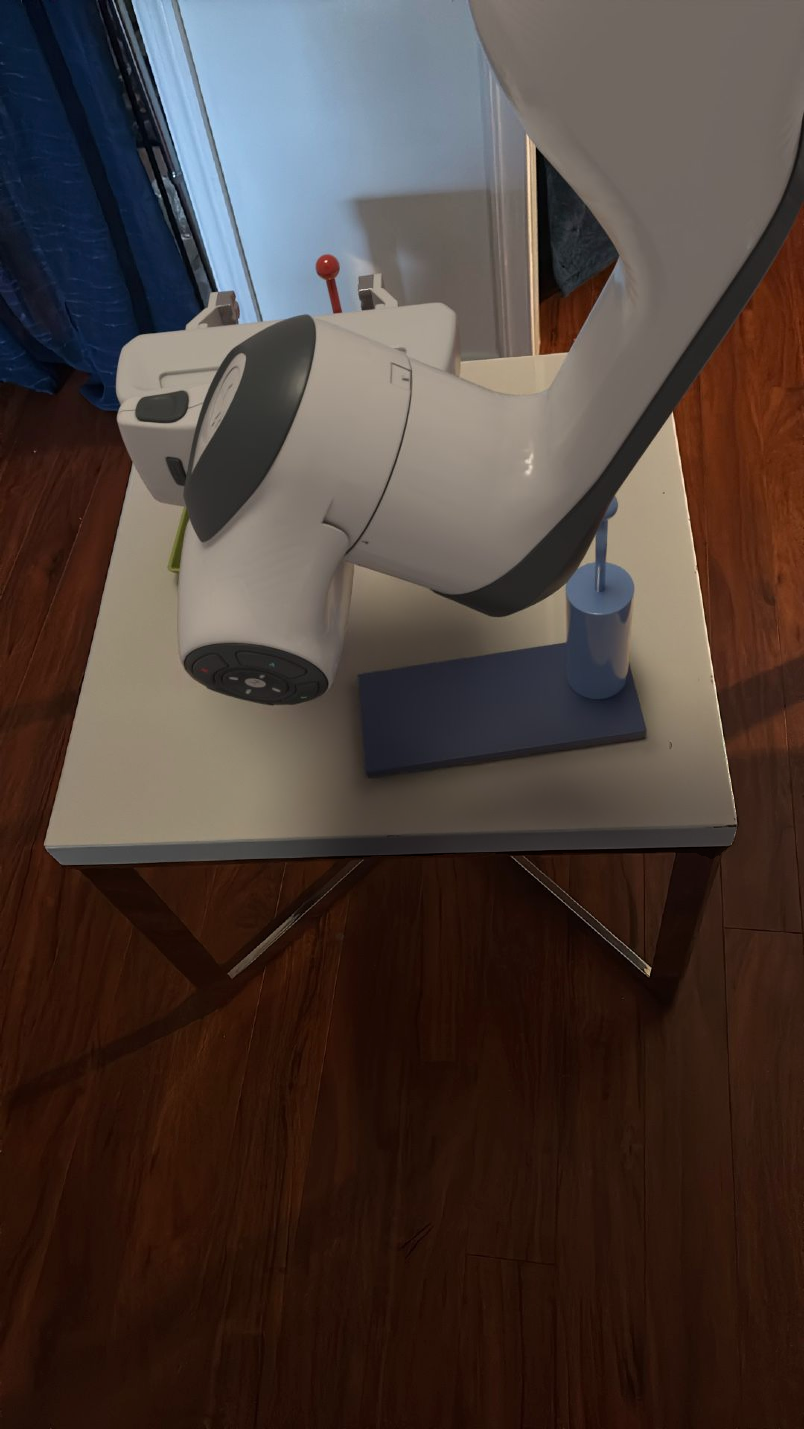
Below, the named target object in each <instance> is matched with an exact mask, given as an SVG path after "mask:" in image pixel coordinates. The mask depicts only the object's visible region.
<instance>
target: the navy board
mask: <svg viewBox="0 0 804 1429" xmlns="http://www.w3.org/2000/svg"><path fill="white" fill-rule="evenodd" d="M357 683H358V696H359V708H360V709H359V711H360V722H361V723H360V724H361V734H362V748H363V759H364V760H363V761H364V772H365V775H366V778H367V779H372V778H378V777H384V776H385V777H386V776H392V775H399V774H406V773H415V772H420V771H427V770H433V769H440V768H447V767H454V766H460V765H461V766H462V765H469V764H475V763H481V762H488V761H494V760H495V761H496V760H502V759H509V758H516V757H517V758H518V757H524V756H529V755H536V754H543V753H550V752H557V751H565V750H571V749H577V748H585V747H592V746H598V745H606V744H612V743H619V742H626V741H633V740H641V739H645V738H646V737H647V726H646V723H645V719H644V718H645V717H644V715H643V711H642V706H641V703H640V699H639V695H638V691H637V686H636V683H635V679H634V675H633V671H632V667H631V663H630V662H629V667H628V678H627V682H626V684H625V686H624V687H623V688H622V689H621V691H619V692H618V693H617V694H615V695H614V696H611V697H609V698H605V699H589V698H586V697H583V696H581V695H579V694H578V693H576V692H575V691H574V690H573V689H572V688H571V687H570V685H569V683H568V681H567V676H566V641H565V642H559V643H551V644H547V645H540V646H532V647H527V648H520V649H519V648H518V649H514V650H509V651H508V650H507V651H500V652H494V653H486V654H482V655H475V656H468V657H461V658H455V659H447V660H441V661H435V662H427V663H422V664H416V665H409V666H403V667H402V666H401V667H396V668H390V669H388V668H387V669H381V670H375V671H369V672H364V673H363V672H362V673H358V674H357Z"/></svg>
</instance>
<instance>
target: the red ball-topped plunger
mask: <svg viewBox="0 0 804 1429" xmlns="http://www.w3.org/2000/svg"><path fill="white" fill-rule="evenodd" d="M340 269H341V266H340V262H339V259H338V258H337V257H335V256H334V255H333V254H330V253H327V254H326V253H324V254H322V255H320V256H319V257H318V258H317V259H316V262H315V272H316V275H317V276H318V277H319V278H320V279H322V280H323V281H325V283H326V287H327V291H328V292H327V293H328V297H329V301H330V305H331V309H332V314H336V313H343V310H342V304H341V300H340V295H339V290H338V287H337V282H336V278H337V277H338V276H339V274H340Z"/></svg>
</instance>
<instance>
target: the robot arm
mask: <svg viewBox="0 0 804 1429" xmlns="http://www.w3.org/2000/svg"><path fill="white" fill-rule="evenodd" d="M465 3H466V6H467V10H468V13H469V14H468V15H469V17H470V20H471V21H470V22H471V25H472V28H473V31H474V34H475V37H476V39H477V42H478V44H479V48H480V50H481V52H482V54H483V57H484V60H485V62H486V64H487V66H488V69H489V71H490V74H491V75H492V77H493V80H494V82H495V84H496V86H497V87H498V90H499V91H500V94H502V96H503V98H504V100H505V102H506V104H507V106H508V107H509V109H510V110H511V112H512V114H513V116H514V118H515V119H516V120H517V122H518V123H519V125H520V127H521V128H522V130H523V131H524V133H525V134H526V135H527V137H528V138H529V140H530V141H531V142H532V144H534V146H535V147H536V148H537V150H538V151H539V152H540V153H541V154H542V155H543V156H544V158H545V159H546V160H547V162H548V163H550V164H551V166H552V167H553V168H554V169H555V170H556V171H557V172H558V173H559V175H560V176H561V177H562V178H563V180H565V182H566V183H567V184H568V185H569V187H571V189H572V190H573V191H574V192H575V193H576V195H577V196H578V198H580V200H581V201H582V202H583V203H584V205H586V207H587V208H588V210H590V212H591V214H592V215H593V216H594V218H595V219H596V220H597V222H598V224H599V225H600V226H601V228H602V229H603V230H604V232H605V234H606V235H607V236H608V238H609V239H610V242H612V244H613V246H614V248H615V250H616V251H617V253H618V258H617V261H616V264H615V265H614V268H613V270H612V272H611V274H610V275H609V277H608V279H607V281H606V283H605V285H604V286H603V288H602V290H601V292H600V294H599V296H598V298H597V299H596V301H595V303H594V305H593V307H592V309H591V310H590V312H589V314H588V316H587V318H586V320H585V321H584V323H583V326H582V327H581V329H580V331H579V332H578V334H577V337H576V338H575V340H574V341H573V343H572V345H571V347H570V349H569V351H568V353H567V354H566V356H565V358H564V360H563V362H562V364H561V366H560V368H559V369H558V372H557V373H556V375H555V376H554V379H553V380H552V382H551V384H550V386H549V387H548V388H547V389H546V390H543V391H540V392H536V393H532V394H531V393H530V394H511V393H504V392H500V391H495V390H492V389H489V388H487V387H485V386H482V385H480V384H477V383H475V382H472V381H470V380H467V379H465V378H462V377H461V376H460V375H461V366H462V365H461V364H462V350H461V337H460V336H461V335H460V326H459V320H458V315H457V312H455V310H453V309H452V308H451V307H450V306H448V305H447V304H445V303H443V302H427V303H421V304H420V303H419V304H418V303H417V304H410V305H409V304H408V305H402V306H399V301H398V300H397V299H395V297H393V295H391V294H390V293H389V292H388V291H387V289H386V287H385V281H384V280H385V279H384V275H383V273H382V272H379V273H374V274H367V275H359V276H358V280H357V281H358V284H357V294H358V299H359V301H360V310H356V311H347V312H346V311H345V312H342V313H336V314H333V313H329V314H319V315H312V316H311V315H310V314H306V313H305V314H300V315H295V316H292V317H288V318H284V319H282V318H281V319H274V320H273V319H272V320H264V321H255V322H254V321H253V322H247V323H246V322H245V323H240V321H239V319H240V318H241V309H240V304H239V302H238V301H237V300H236V299H237V296H236V295H237V294H236V292H235V290H224V291H223V290H222V291H213V292H210V294H209V296H208V297H209V298H208V303H207V307H205V308H204V309H202V310H201V311H200V312H199V313H198V314H197V315H196V316H194V318H192V320H190V321H189V322H188V323H187V324H186V325H185V329H181V330H174V331H165V332H156V333H145V334H139V335H137V336H135V337H134V338H132V339H131V340H130V341H129V342H127V343H126V344H125V345H123V347H122V348H121V351H120V353H119V358H118V363H117V369H116V375H115V376H116V377H115V393H116V397H117V400H118V402H119V405H120V406H119V408H118V411H117V415H116V422H117V426H118V428H119V432H120V435H121V438H122V441H123V443H124V446H125V449H126V452H127V453H128V456H129V458H130V459H131V461H132V464H133V466H134V468H135V470H136V471H137V473H138V475H139V478H140V479H141V481H142V482H143V484H144V485H145V487H146V489H147V490H148V492H149V494H150V495H151V496H152V498H153V499H154V500H155V501H157V502H159V503H162V504H166V505H171V506H176V507H177V506H178V507H183V508H184V507H186V508H187V512H188V515H189V521H188V523H187V526H186V530H185V535H184V541H183V547H182V554H181V563H180V572H179V574H178V585H177V602H176V632H177V633H176V634H177V648H178V649H177V650H178V655H179V659H180V664H181V666H182V668H183V669H184V671H185V672H186V673H187V674H188V675H189V677H190V678H192V679H193V680H194V681H195V682H197V683H199V684H201V685H202V686H204V687H205V688H206V689H208V690H209V691H212V692H215V693H218V694H221V695H224V696H228V697H229V698H230V697H231V698H234V699H238V700H242V701H246V702H250V703H254V704H259V705H265V706H271V707H273V706H287V705H288V706H295V705H299V704H302V703H307V702H311V701H314V700H317V699H319V698H321V697H322V696H324V695H326V693H327V692H329V690H330V689H331V687H332V686H333V684H334V680H335V678H336V675H337V672H338V669H339V664H340V661H341V657H342V652H343V648H344V642H345V637H346V633H347V627H348V622H349V615H350V609H351V600H352V592H353V585H354V584H353V582H354V573H355V566H359V567H362V568H365V569H369V570H371V571H373V572H377V573H380V574H383V575H386V576H389V577H393V578H395V579H399V580H402V581H404V582H408V583H411V584H413V585H417V586H420V587H423V588H426V589H428V590H430V591H431V592H433V593H434V594H436V595H438V596H440V597H443V598H445V599H448V600H449V601H453V602H455V603H457V604H460V605H462V606H464V607H466V608H469V609H471V610H474V611H476V612H478V613H481V614H483V615H484V616H488V617H490V618H505V617H508V616H511V615H513V614H517V613H519V612H521V611H524V610H526V609H528V608H530V607H532V606H535V605H536V604H538V603H540V602H542V601H544V600H545V599H548V598H549V597H550V596H552V595H554V594H555V593H557V591H559V590H560V589H561V588H563V587H564V586H566V583H567V582H568V581H569V579H570V578H571V577H572V576H573V574H574V573H575V571H576V570H577V569H578V568H579V567H580V565H581V563H582V562H583V561H584V558H585V557H586V555H587V553H588V551H589V550H590V548H591V545H592V543H593V542H594V539H595V538H596V533H597V531H598V529H599V527H600V524H601V522H602V520H603V518H604V516H605V514H606V512H607V510H608V508H609V506H610V504H611V502H612V500H613V498H614V496H616V495H617V494H618V492H619V490H620V489H621V487H622V485H623V484H624V483H625V482H626V480H627V479H628V477H629V475H630V474H631V473H632V471H633V470H634V468H635V467H636V465H637V464H638V463H639V461H640V460H641V458H642V457H643V456H644V454H645V452H646V451H647V449H648V448H649V447H650V445H651V444H652V442H653V441H654V439H655V438H656V437H657V435H658V434H659V433H660V431H661V429H662V428H663V427H664V425H665V424H666V422H667V421H668V420H669V418H670V417H671V415H672V414H673V412H674V411H675V409H676V408H677V407H678V405H679V404H680V402H681V401H682V399H683V398H684V396H685V395H686V394H687V393H688V391H689V389H690V388H691V387H692V385H693V383H694V382H695V381H696V379H697V378H698V376H699V375H700V374H701V372H702V370H703V369H704V368H705V366H706V365H707V363H708V362H709V361H710V359H711V358H712V356H713V354H714V353H715V352H716V351H717V349H718V347H719V346H720V345H721V343H722V342H723V340H724V339H725V337H726V335H727V334H728V333H729V331H730V330H731V329H732V327H733V325H734V324H735V322H736V321H737V319H738V318H739V316H740V314H742V312H743V310H744V309H745V307H746V306H747V304H748V303H749V301H750V299H752V296H753V295H754V293H755V292H756V291H757V289H758V287H759V285H760V284H761V282H762V281H763V279H764V277H765V276H766V274H767V273H768V271H769V269H770V268H771V266H772V264H773V263H774V261H775V259H776V258H777V256H778V254H779V252H780V251H781V249H782V247H783V246H784V243H785V241H786V240H787V238H788V236H789V234H790V232H791V230H792V228H793V226H794V224H795V221H796V219H797V217H798V215H799V213H800V211H801V208H802V206H803V204H804V0H465Z"/></svg>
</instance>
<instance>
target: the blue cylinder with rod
mask: <svg viewBox="0 0 804 1429" xmlns="http://www.w3.org/2000/svg"><path fill="white" fill-rule="evenodd" d="M618 509H619V500H618V498H617V496H616V495H615V496H614V498H613V500H612V502H611V504H610V506H609V508H608V510H607V512H606V514H605V516H604V518H603V520H602V522H601V524H600V527H599V529H598V531H597V533H596V535H595V542H594V543H595V544H594V545H595V546H594V547H595V548H594V562H589V563H586V564H584V565H581V566H579V567H578V568H577V570H576V571H575V573H574V574H573V576H572V577H571V578H570V579H569V581H568V582H567V583H566V584H565V589H564V590H565V592H564V593H565V594H564V596H565V598H564V599H565V642H566V676H567V681H568V683H569V685H570V687H571V688H572V689H573V690H574V691H575V692H576V693H578V694H579V695H581V696H583V697H586V698H589V699H605V698H609V697H611V696H614V695H615V694H617V693H618V692H619V691H621V689H622V688H623V687H624V686H625V684H626V682H627V678H628V667H629V663H630V654H631V641H632V640H631V639H632V627H633V616H634V614H633V613H634V603H635V602H634V601H635V582H634V580H633V578H632V576H631V574H630V573H629V572H628V571H626V570H625V569H624V568H623V567H621V566H619V565H617V564H616V563H615V564H614V563H612V562H607V558H608V555H607V554H608V553H607V552H608V534H609V533H608V530H609V529H608V528H609V521H610V520H611V519H612V518H614V517H615V515H616V514H617V512H618Z"/></svg>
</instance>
